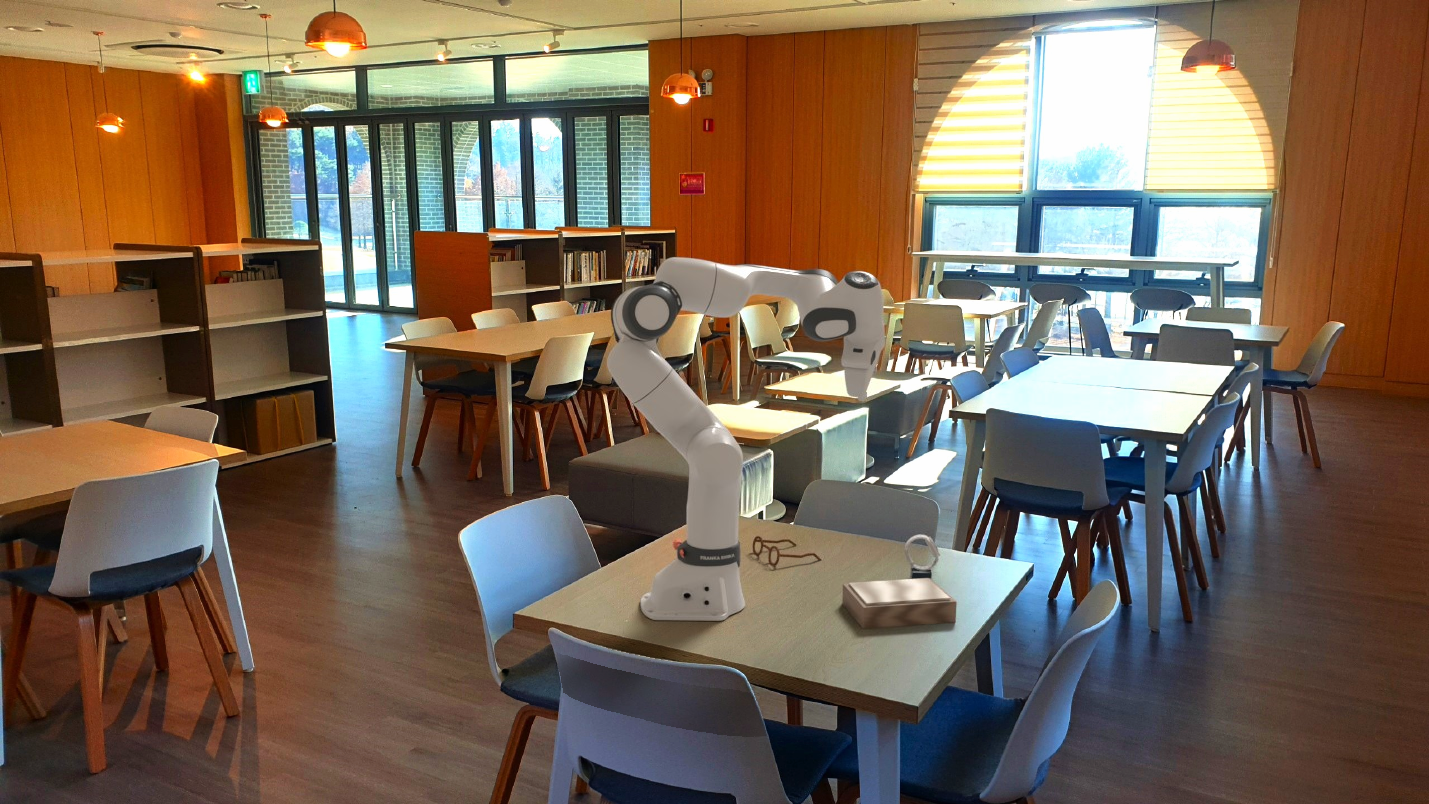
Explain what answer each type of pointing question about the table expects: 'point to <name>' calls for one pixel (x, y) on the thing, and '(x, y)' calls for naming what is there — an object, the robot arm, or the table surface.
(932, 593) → the display riser
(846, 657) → the table surface
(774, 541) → the glasses
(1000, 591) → the table surface
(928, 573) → the watch
